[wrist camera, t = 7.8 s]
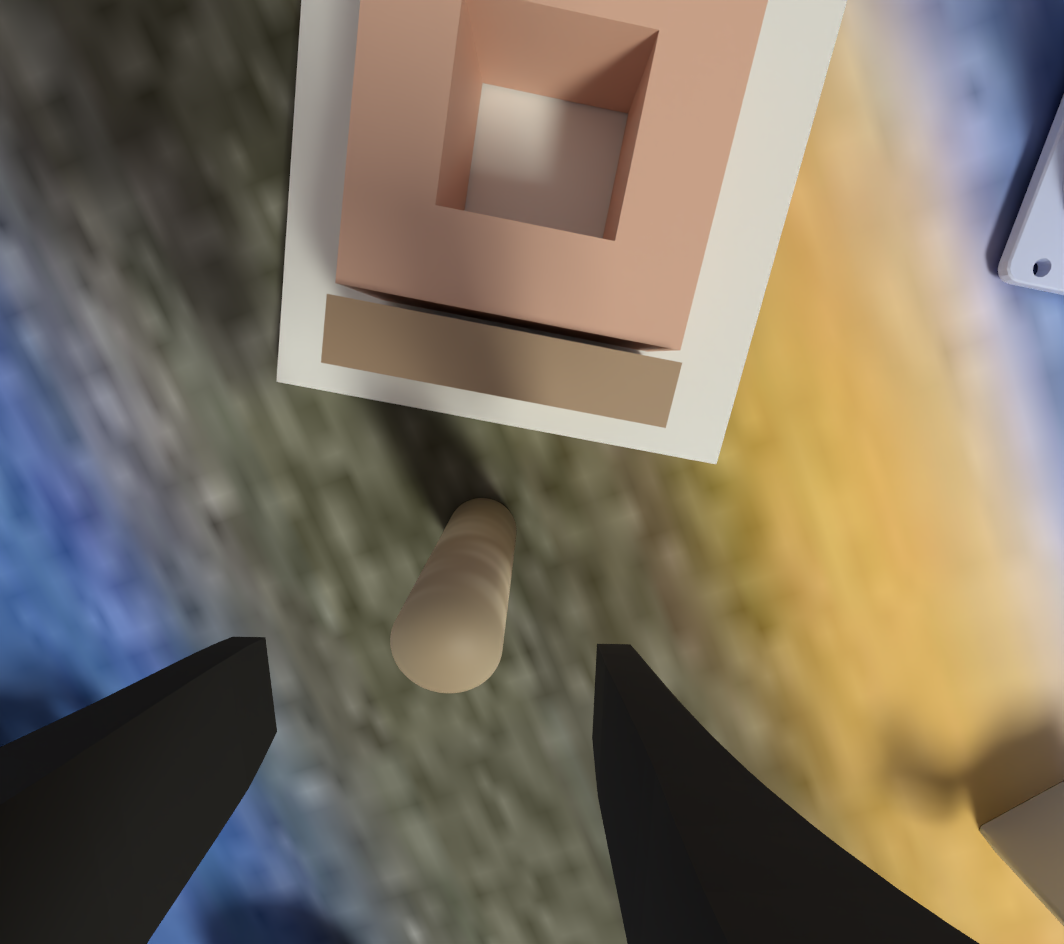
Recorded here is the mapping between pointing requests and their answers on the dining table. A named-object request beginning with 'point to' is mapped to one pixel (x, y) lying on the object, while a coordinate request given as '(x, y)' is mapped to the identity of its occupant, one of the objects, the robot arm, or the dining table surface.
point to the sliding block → (559, 72)
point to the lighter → (1034, 845)
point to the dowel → (459, 602)
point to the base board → (560, 203)
